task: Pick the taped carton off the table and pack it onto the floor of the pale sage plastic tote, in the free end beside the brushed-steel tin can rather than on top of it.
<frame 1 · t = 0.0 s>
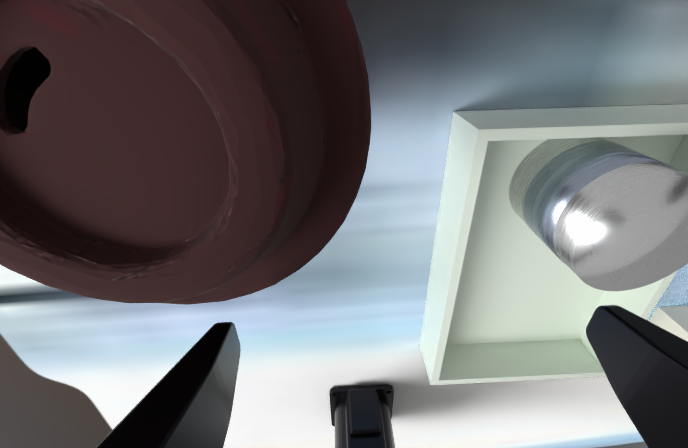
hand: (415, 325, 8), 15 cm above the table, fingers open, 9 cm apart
taped carton: (666, 332, 32), on the table
tote: (530, 249, 26), on the table
tin can: (559, 181, 22), point 1 cm above the table, touching tote
coffee cup: (255, 63, 18), on the table
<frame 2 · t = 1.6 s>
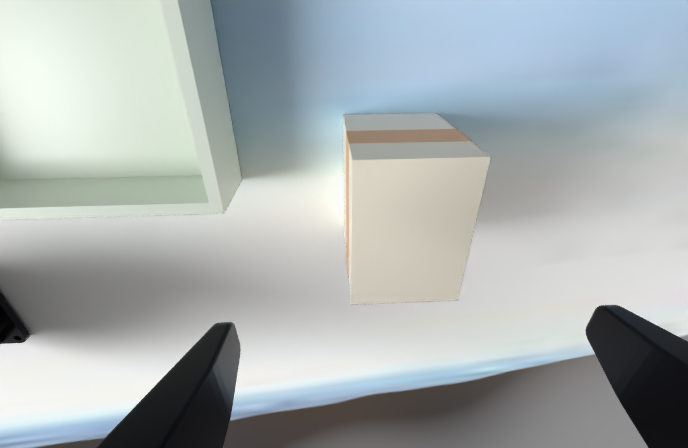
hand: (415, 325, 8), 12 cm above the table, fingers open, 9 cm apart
taped carton: (385, 174, 20), on the table
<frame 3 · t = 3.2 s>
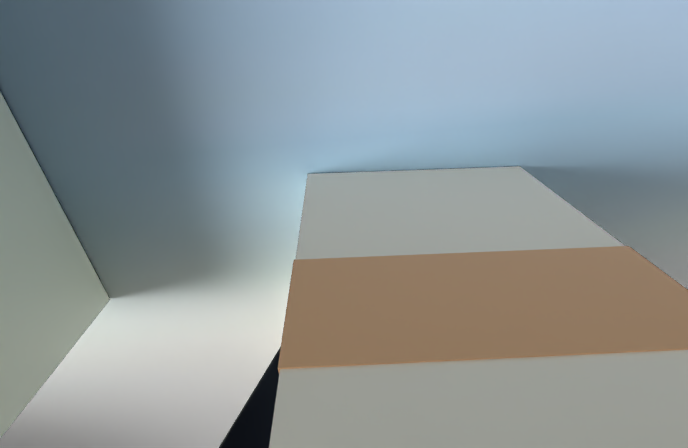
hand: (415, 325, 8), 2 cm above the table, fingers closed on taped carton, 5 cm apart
taped carton: (403, 283, 10), on the table, touching gripper
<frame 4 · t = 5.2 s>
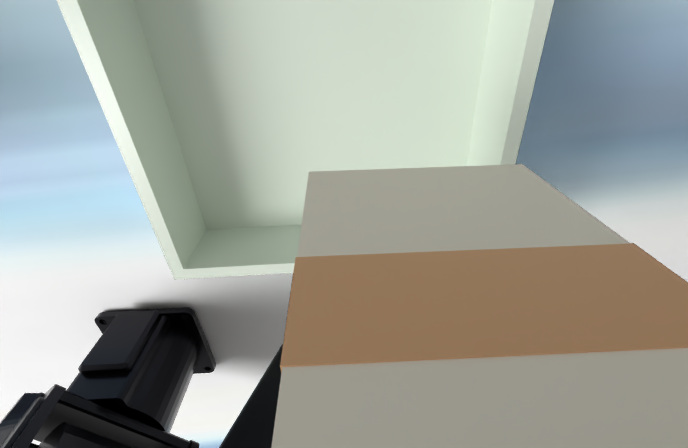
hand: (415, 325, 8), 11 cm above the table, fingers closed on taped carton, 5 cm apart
taped carton: (405, 282, 10), point 9 cm above the table, touching gripper
tote: (315, 8, 14), on the table
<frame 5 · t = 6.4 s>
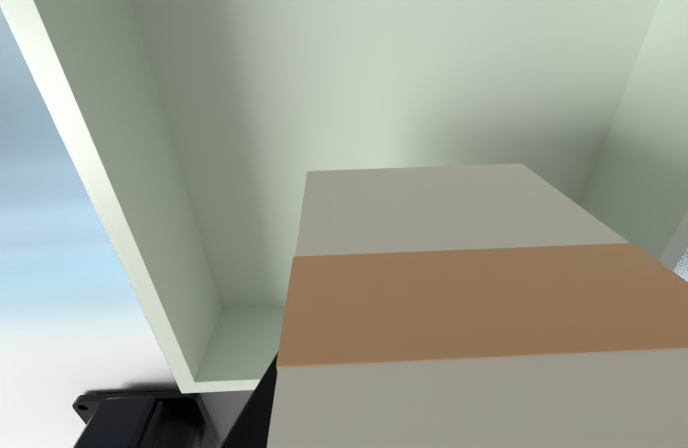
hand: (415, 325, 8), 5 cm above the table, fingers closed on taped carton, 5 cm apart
taped carton: (404, 282, 10), point 4 cm above the table, touching gripper
tote: (396, 37, 10), on the table
when the fingers open (4 cm above the table, at t = 7.1 s): taped carton drops 2 cm, resting on tote.
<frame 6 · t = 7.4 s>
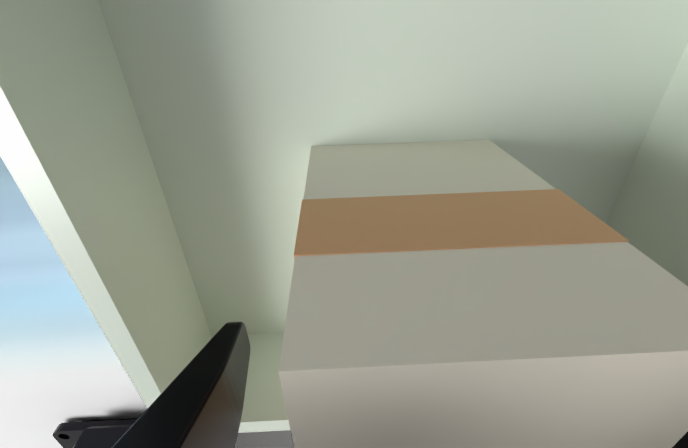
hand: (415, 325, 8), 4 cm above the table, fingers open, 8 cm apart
taped carton: (393, 245, 11), point 1 cm above the table, touching tote
tote: (403, 41, 9), on the table
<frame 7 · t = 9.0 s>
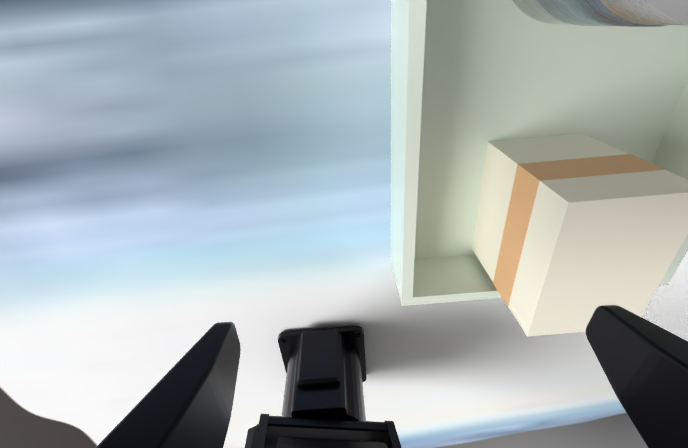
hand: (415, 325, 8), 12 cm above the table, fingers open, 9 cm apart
taped carton: (521, 196, 19), point 1 cm above the table, touching tote
tote: (540, 85, 17), on the table
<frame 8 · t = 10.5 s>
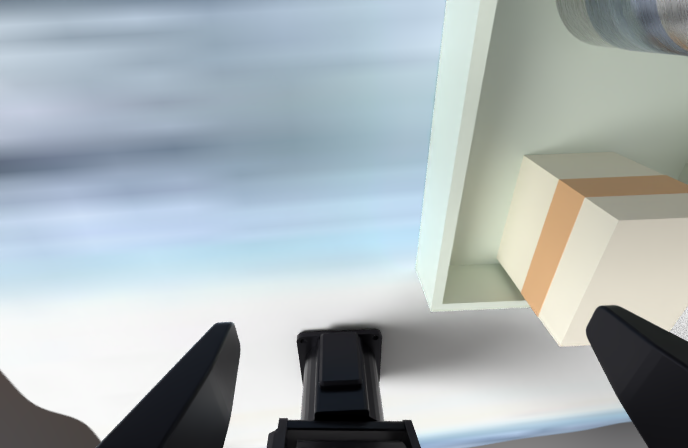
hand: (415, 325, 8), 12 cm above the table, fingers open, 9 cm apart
taped carton: (549, 209, 20), point 1 cm above the table, touching tote
tote: (577, 104, 17), on the table
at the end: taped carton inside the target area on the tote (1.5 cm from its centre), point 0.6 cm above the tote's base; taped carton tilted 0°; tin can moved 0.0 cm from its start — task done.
